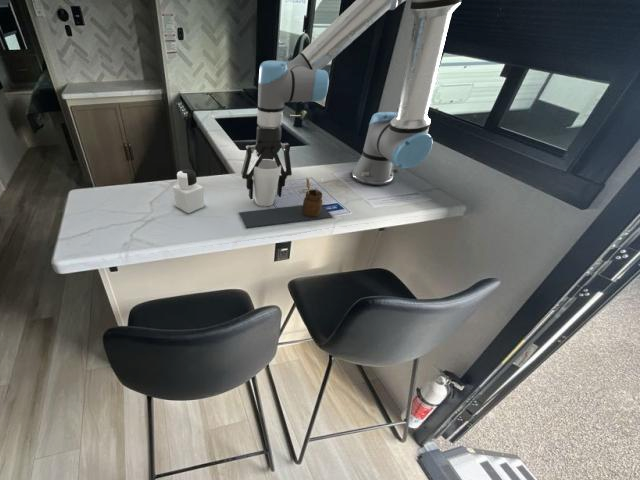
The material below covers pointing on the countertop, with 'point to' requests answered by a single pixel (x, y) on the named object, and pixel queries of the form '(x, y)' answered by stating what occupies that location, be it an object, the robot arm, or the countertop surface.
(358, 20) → the robot arm
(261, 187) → the foam cup
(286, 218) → the edge runner mat
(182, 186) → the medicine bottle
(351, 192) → the countertop surface
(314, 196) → the utensil holder
